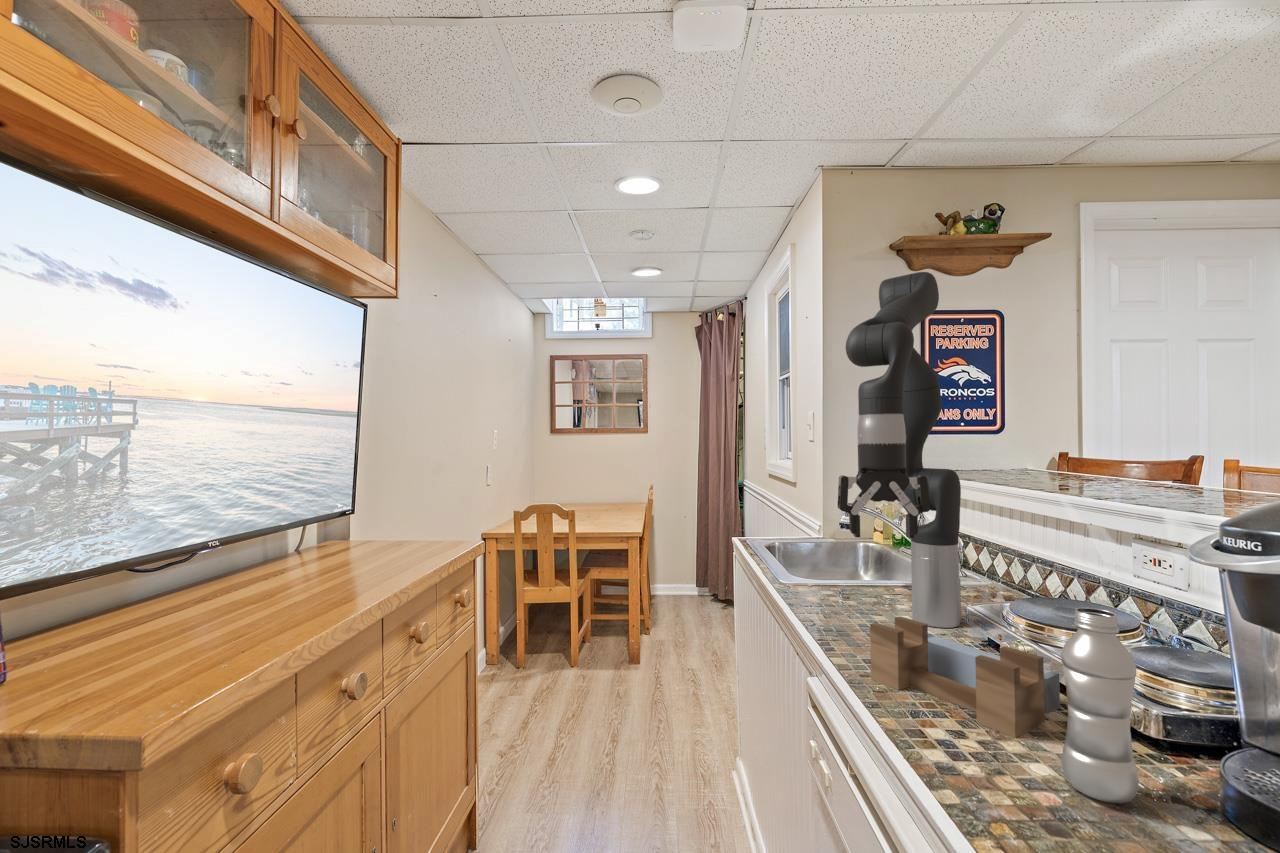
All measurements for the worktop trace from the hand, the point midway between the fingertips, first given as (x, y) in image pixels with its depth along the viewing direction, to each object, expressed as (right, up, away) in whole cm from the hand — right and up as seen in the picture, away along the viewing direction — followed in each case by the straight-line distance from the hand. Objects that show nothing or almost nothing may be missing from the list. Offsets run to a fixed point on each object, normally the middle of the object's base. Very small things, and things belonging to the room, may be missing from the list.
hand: (883, 537), depth 97 cm
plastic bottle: (+10, -22, -33) cm, 41 cm away
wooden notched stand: (+6, -23, -10) cm, 26 cm away
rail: (+14, -23, -5) cm, 27 cm away
